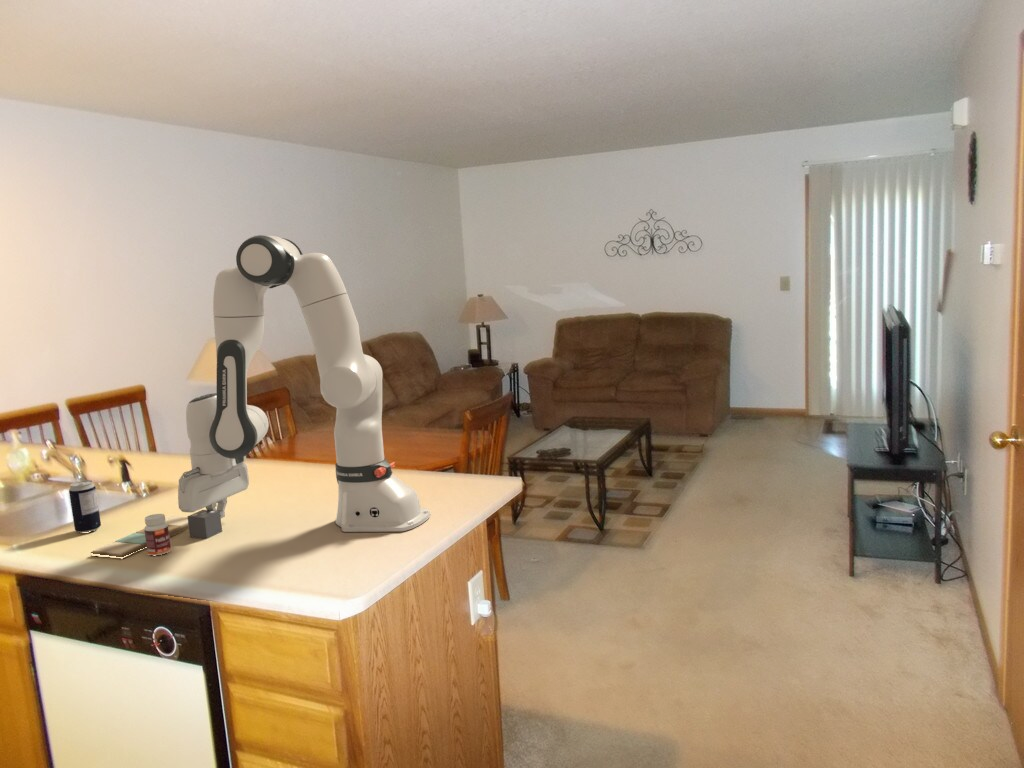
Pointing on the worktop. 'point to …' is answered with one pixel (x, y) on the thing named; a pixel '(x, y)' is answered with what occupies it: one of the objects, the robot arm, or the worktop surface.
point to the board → (140, 539)
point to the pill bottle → (157, 535)
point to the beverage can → (84, 506)
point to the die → (204, 524)
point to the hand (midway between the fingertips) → (218, 518)
